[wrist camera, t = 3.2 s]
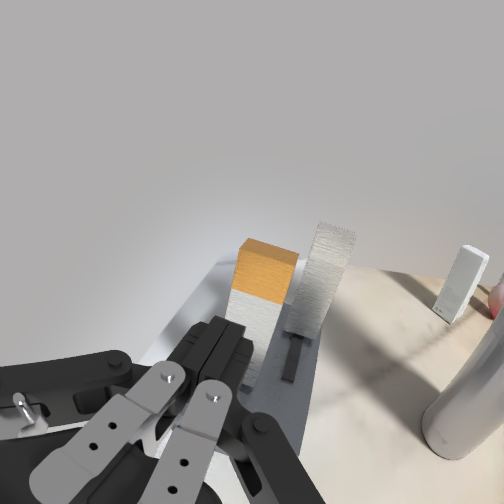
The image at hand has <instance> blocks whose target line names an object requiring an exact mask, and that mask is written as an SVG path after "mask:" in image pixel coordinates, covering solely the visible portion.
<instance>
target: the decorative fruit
mask: <svg viewBox="0 0 504 504" xmlns="http://www.w3.org/2000/svg"><path fill="white" fill-rule="evenodd" d="M503 304H504V285H503V284H499V285H496V286H495V287H494V288H493V289H492V290H491V292H490V294H489V296H488V306H489V309H490V312H491V314H492V316H493V318H494V319H495V318H496V316H497V315H498V313H499V311H500V309H501V308H502V306H503Z"/></svg>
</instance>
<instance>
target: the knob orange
mask: <svg viewBox="0 0 504 504" xmlns="http://www.w3.org/2000/svg"><path fill="white" fill-rule="evenodd" d="M298 256H299V254H298V253H295V252H292V251H289V250H286V249H282V248H279V247H276V246H273V245H270V244H267V243H263V242H260V241H257V240H254V239H250V238H248V239H247V240H246V242H245V243H244V244H243V245H242V246H241V248H240V249H239V254H238V259H237V263H236V268H235V273H234V277H233V282H232V287H231V292H230V296H229V301H228V306H227V311H226V316H225V319H227V320H229V321H230V322H231V321H232V322H235V323H238V324H240V325H243V326H246V330H245V333H244V338H247V339H249V340H252V341H253V345H254V352H253V355H252V358H251V361H250V364H249V367H248V369H247V372H246V374H245V377H244V379H243V381H242V384H245V385H248V386H251V387H254V385H255V382H256V379H257V377H258V374H259V371H260V369H261V366H262V363H263V360H264V358H265V355H266V352H267V349H268V346H269V344H270V341H271V338H272V335H273V332H274V329H275V326H276V323H277V320H278V318H279V315H280V312H281V309H282V306H283V303H284V300H285V297H286V294H287V291H288V287H289V284H290V281H291V278H292V275H293V272H294V269H295V266H296V262H297V259H298Z"/></svg>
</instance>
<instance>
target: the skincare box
mask: <svg viewBox="0 0 504 504" xmlns="http://www.w3.org/2000/svg"><path fill="white" fill-rule="evenodd" d="M489 258H490V257H489V256H488V255H487V254H485V253H483V252H481V251H480V250H478V249H476V248H475V247H473V246H471V245H465V246H461V248H460V251H459V253H458V255H457V258H456V260H455V262H454V264H453V267H452V269H451V271H450V273H449V275H448V278H447V280H446V282H445V284H444V286H443V288H442V290H441V292H440V294H439V296H438V298H437V300H436V302H435V304H434V306H433V308H432V310H433V311H434V312H436V313H437V314H439V315H440V316H441V317H442V318H443V319H444V320H446V321H447V322H448V323H449V324H452V323H453V322H454V321H455V320H456V319H457V318H458V317H460V316H461V315H462V313H463V312H464V310H465V308H466V306H467V304H468V302H469V300H470V298H471V296H472V294H473V293H474V291H475V288H476V286H477V284H478V282H479V280H480V278H481V276H482V273H483V271H484V269H485V267H486V265H487V262H488V260H489Z"/></svg>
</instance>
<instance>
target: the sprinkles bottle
mask: <svg viewBox="0 0 504 504" xmlns="http://www.w3.org/2000/svg"><path fill="white" fill-rule="evenodd" d="M499 284H503V285H504V273H503V275H502V277H501V279H500V281H499V283H498V285H499Z"/></svg>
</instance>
